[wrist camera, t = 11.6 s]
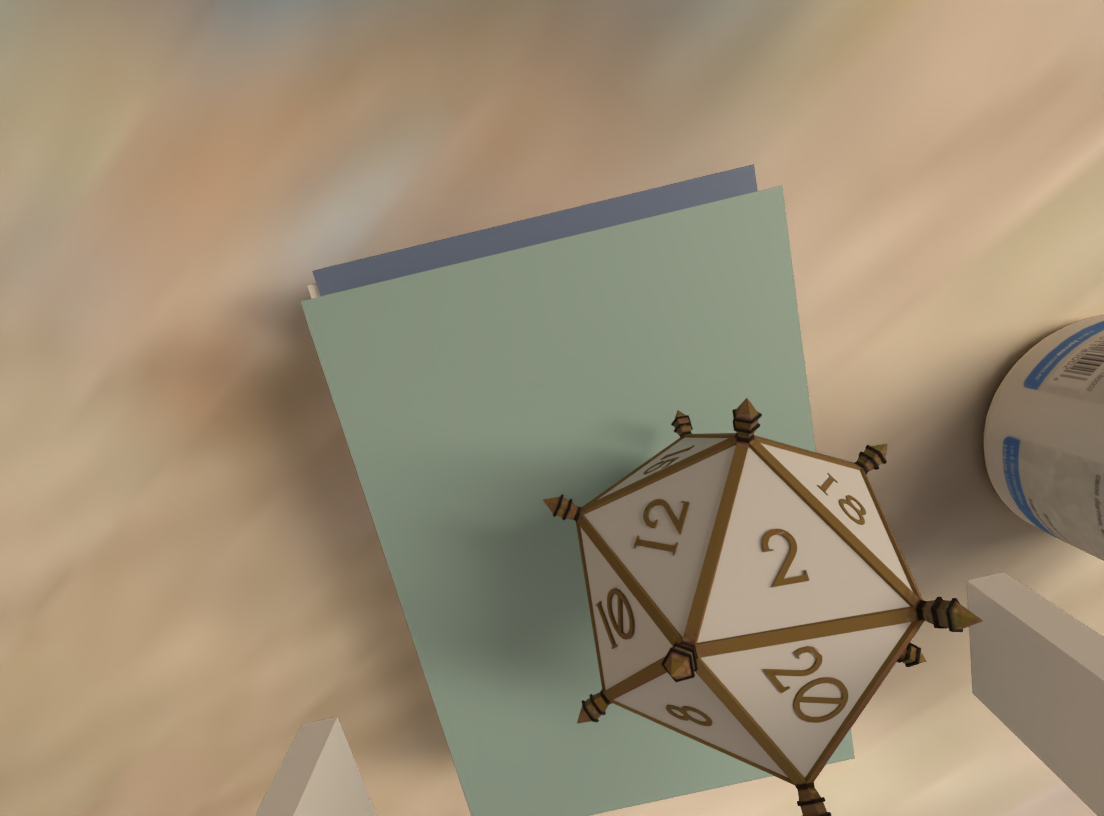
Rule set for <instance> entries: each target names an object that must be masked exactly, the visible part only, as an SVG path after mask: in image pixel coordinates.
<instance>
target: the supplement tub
mask: <svg viewBox="0 0 1104 816" xmlns="http://www.w3.org/2000/svg"><path fill="white" fill-rule="evenodd" d="M984 456H985V464H986V468H987V472H988V475H989V478H990V481H991V483H992V485H993V487H994V489H995V491H996V492H997V494H998V495H999V497H1000V498H1001V500H1002V501H1003V502H1004V503H1005V504H1006V505H1007V506H1008V508H1009V509H1010V510H1012V511H1013V512H1014V513H1015V514H1016V515H1018V516H1019V517H1020V518H1021V519H1023V520H1024V521H1026V522H1027V523H1029V524H1031V525H1032V526H1034V527H1036V528H1038V529H1040V530H1042V531H1044V532H1046V533H1048V534H1050V535H1052V536H1054V537H1056V538H1058V539H1060V540H1063V541H1065V542H1067V543H1069V544H1071V545H1073V546H1075V547H1077V548H1079V549H1081V550H1083V551H1085V552H1087V553H1089V554H1091V555H1093V556H1095V557H1097V558H1099V559H1101V560H1104V315H1100V316H1095V317H1091V318H1087V319H1084V320H1081V321H1078V322H1075V323H1073V324H1070V325H1068V326H1066V327H1063V328H1061V329H1059V330H1058V331H1056V332H1054V333H1052V334H1050V335H1049V336H1047V337H1046V338H1044V339H1043V340H1041V341H1040V342H1038V343H1037V344H1036V345H1035V346H1033V347H1032V348H1031V349H1030V350H1029V351H1028V352H1027V353H1026V354H1024V355H1023V356H1022V357H1021V358H1020V359H1019V360H1018V361H1017V362H1016V364H1015V365H1014V366H1013V367H1012V369H1011V370H1010V371H1009V372H1008V374H1007V375H1006V376H1005V378H1004V380H1003V381H1002V383H1001V384H1000V386H999V388H998V390H997V391H996V393H995V395H994V397H993V400H992V402H991V405H990V408H989V411H988V413H987V417H986V423H985V429H984Z"/></svg>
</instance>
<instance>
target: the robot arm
mask: <svg viewBox="0 0 1104 816" xmlns="http://www.w3.org/2000/svg"><path fill="white" fill-rule="evenodd" d="M967 598H968V610H969V611H970V612H972V613H973V614H974V615H976V616H977V617H979V618H980V619H982V620H983V622H980V623H977V624H974V625H972V626H969V636H970V655H971V674H972V692H973V694H974V695H975V696H976V697H977V698H978V699H979V700H980V701H981V702H982V703H983V704H984V705H985V706H986V707H987V708H988V709H989V710H990V711H991V712H992V713H993V714H994V715H995V716H996V717H997V718H999V719H1000V720H1001V721H1002V722H1003V723H1004V724H1005V725H1006V726H1007V727H1008V728H1009V729H1010V730H1011V731H1012V732H1013V733H1014V734H1015V735H1016V736H1017V737H1018V738H1019V739H1020V740H1021V741H1022V742H1023V743H1024V744H1025V745H1026V746H1027V747H1028V748H1029V749H1030V750H1031V751H1032V752H1033V753H1034V754H1035V755H1036V756H1037V757H1038V758H1039V759H1040V760H1041V761H1042V762H1043V763H1044V764H1045V765H1047V766H1048V767H1049V768H1050V769H1051V770H1052V771H1053V772H1054V773H1055V774H1056V775H1057V776H1058V777H1059V778H1060V779H1061V780H1062V781H1063V782H1064V783H1065V784H1066V785H1067V786H1068V787H1069V788H1070V789H1071V790H1072V791H1073V792H1074V793H1075V794H1076V795H1077V796H1078V797H1079V798H1080V799H1081V800H1082V801H1083V802H1084V803H1085V804H1086V805H1087V806H1088V807H1089V808H1090V809H1091V810H1092V811H1093V812H1094V813H1096V814H1097V815H1098V816H1104V637H1103V636H1102V635H1100V634H1098V633H1097V632H1095V631H1094V630H1092V629H1091V628H1089V627H1088V626H1086V625H1085V624H1083V623H1082V622H1080V621H1079V620H1077V619H1076V618H1074V617H1072V616H1071V615H1069V614H1068V613H1066V612H1065V611H1063V610H1062V609H1060V608H1059V607H1057V606H1056V605H1054V604H1053V603H1051V602H1050V601H1048V600H1046V599H1045V598H1043V597H1042V596H1040V595H1039V594H1037V593H1036V592H1034V591H1033V590H1031V589H1030V588H1028V587H1027V586H1025V585H1024V584H1022V583H1020V582H1019V581H1017V580H1016V579H1014V578H1013V577H1011V576H1010V575H1008V574H1007V573H1005V572H1003V573H999V574H994V575H989V576H985V577H980V578H976V579H971V580H967ZM255 816H376V813H375V811H374V808H373V806H372V803H371V801H370V798H369V795H368V793H367V790H366V788H365V785H364V783H363V780H362V778H361V775H360V773H359V770H358V768H357V765H356V763H355V760H354V757H353V755H352V752H351V750H350V747H349V745H348V742H347V740H346V737H345V735H344V732H343V730H342V727H341V724H340V722H339V719H338V717H333V718H328V719H324V720H319V721H315V722H310V723H305V724H302V725H301V727H300V729H299V731H298V733H297V735H296V737H295V739H294V741H293V743H292V745H291V747H290V749H289V751H288V752H287V754H286V756H285V758H284V760H283V762H282V764H281V766H280V768H279V770H278V772H277V774H276V776H275V778H274V780H273V782H272V784H271V786H270V787H269V789H268V791H267V793H266V795H265V797H264V799H263V801H262V803H261V805H260V807H259V809H258V811H257V813H256V815H255Z"/></svg>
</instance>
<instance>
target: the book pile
mask: <svg viewBox="0 0 1104 816" xmlns="http://www.w3.org/2000/svg"><path fill="white" fill-rule="evenodd" d="M313 274H314V277H315V280H316V284H312V285H308V289H309V292H310V295H311V298H312V299H308V300H304V301H300V302H301V305H302V308H303V311H304V314H305V315H304V316H305V319H306V322H307V325H308V328H309V331H310V334H311V337H312V340H313V343H314V346H315V349H316V352H317V355H318V358H319V361H320V364H321V367H322V370H323V373H324V376H325V379H326V382H327V385H328V388H329V391H330V394H331V397H332V400H333V403H334V406H335V409H336V412H337V415H338V418H339V421H340V424H341V427H342V430H343V433H344V436H345V439H346V442H347V445H348V448H349V451H350V454H351V457H352V460H353V463H354V466H355V469H356V472H357V475H358V478H359V481H360V484H361V487H362V490H363V493H364V496H365V499H366V502H367V505H368V508H369V511H370V514H371V517H372V520H373V523H374V526H375V529H376V532H377V535H378V538H379V541H380V544H381V547H382V550H383V553H384V556H385V559H386V561H387V564H388V567H389V570H390V573H391V576H392V579H393V582H394V585H395V588H396V591H397V594H398V597H399V600H400V603H401V606H402V609H403V612H404V615H405V618H406V621H407V624H408V627H409V630H410V633H411V636H412V639H413V642H414V645H415V648H416V651H417V654H418V657H419V660H420V663H421V666H422V669H423V672H424V675H425V678H426V681H427V684H428V687H429V690H430V693H431V696H432V699H433V702H434V705H435V708H436V711H437V714H438V717H439V720H440V723H441V726H442V729H443V732H444V735H445V738H446V741H447V744H448V747H449V750H450V753H451V756H452V759H453V762H454V765H455V768H456V771H457V774H458V777H459V780H460V783H461V786H462V789H463V792H464V795H465V798H466V801H467V804H468V807H469V810H470V813H471V816H589V815H594V814H598V813H603V812H608V811H612V810H617V809H621V808H626V807H631V806H635V805H640V804H645V803H649V802H654V801H659V800H663V799H668V798H673V797H677V796H682V795H687V794H691V793H696V792H700V791H705V790H710V789H714V788H719V787H724V786H728V785H733V784H738V783H742V782H747V781H752V780H756V779H761V778H765V777H770V776H773V775H771V774H769V773H767V772H765V771H762V770H760V769H758V768H756V767H753V766H751V765H749V764H747V763H745V762H742V761H740V760H738V759H736V758H733V757H731V756H729V755H727V754H724V753H722V752H720V751H718V750H716V749H713V748H711V747H709V746H707V745H704V744H702V743H700V742H698V741H696V740H693V739H691V738H689V737H687V736H684V735H682V734H680V733H678V732H676V731H673V730H671V729H669V728H667V727H664V726H662V725H660V724H658V723H656V722H653V721H651V720H649V719H647V718H644V717H642V716H640V715H638V714H635V713H633V712H631V711H629V710H627V709H624V708H622V707H620V706H618V705H615V704H613V703H612V704H609V705H608V707H607V709H606V711H605V712H606V714H605V715H601V716H600V717H599V718H598V720H599V721H598V722H593V721H591V722H584V723H578V724H577V721H578V718H579V714H580V711H581V708H582V700H584V701H586V700H587V699H588V698H590V696H589V695H590V694H592V695H595V694H597V693H599V692H600V691H601V690H602V685H601V679H600V672H599V666H598V660H597V653H596V647H595V641H594V635H593V628H592V622H591V616H590V609H589V603H588V597H587V590H586V584H585V578H584V571H583V565H582V559H581V553H580V546H579V540H578V534H577V527H576V521H575V520H572V519H565V520H562V517H559V516H556V517H553V513H552V512H551V510H550V509H549V508H548V506H547V505H546V504H545V503H544V501H543V499H548V498H554V497H559V496H561V494H563V495H564V496H563V497H564V498H566V499H568V500H570V498H571V499H573V500H572V502H573V503H574V504H575V505H576V506H578V507H583V506H584V505H585V504H587V503H588V502H590V501H591V500H593V499H594V498H595V497H597V496H598V495H600V494H601V493H602V492H604V491H605V490H607V489H608V488H609V487H611V486H612V485H614V484H615V483H617V482H618V481H619V480H621V479H622V478H624V477H625V476H626V475H628V474H629V473H631V472H632V471H634V470H635V469H636V468H638V467H639V466H641V465H642V464H643V463H645V462H646V461H648V460H649V459H651V458H652V457H653V456H655V455H656V454H658V453H659V452H660V451H662V450H663V449H665V448H666V447H667V446H669V445H670V444H672V443H673V442H675V441H676V440H677V439H679V438H680V436H679V435H678V433H675V432H674V430H675V428H674V426H672V425H671V423H672V422H673V421H674V419H675V416H676V413H677V410H679V411H680V412H682V413H683V414H685V415H689V418H690V421H691V425H692V428H693V430H691V433H692V434H708V433H737V432H736V431H734V428H733V420H734V419H733V411H732V410H733V409H737V408H738V407H739V406H740V404H741V403H742V402H743V401H744V400H745V399H746V398H748V399H749V401H750V402H751V404H752V405H753V406H754V408H755V409H756V411H757V412H759V413H761V414H762V417H760V418H759V419H758V423H759V424H760V427H759V428H758V429H757V430H756V431H755V433H754V435H756V436H759V437H763V438H766V439H770V440H773V441H777V442H781V443H784V444H788V445H791V446H795V447H798V448H802V449H805V450H809V451H813V452H816V449H815V441H814V433H813V425H812V418H811V410H810V402H809V394H808V386H807V378H806V370H805V362H804V354H803V346H802V339H801V331H800V323H799V315H798V307H797V299H796V291H795V283H794V275H793V267H792V259H791V252H790V244H789V236H788V228H787V220H786V212H785V204H784V196H783V188H782V186H778V187H774V188H769V189H765V190H761V191H757V184H756V177H755V169H754V164H753V165H749V166H745V167H741V168H737V169H732V170H728V171H724V172H720V173H716V174H712V175H708V176H703V177H699V178H695V179H691V180H687V181H683V182H679V183H674V184H670V185H666V186H662V187H658V188H654V189H650V190H646V191H641V192H637V193H633V194H629V195H625V196H621V197H617V198H612V199H608V200H604V201H600V202H596V203H592V204H588V205H583V206H579V207H575V208H571V209H567V210H563V211H559V212H554V213H550V214H546V215H542V216H538V217H534V218H530V219H525V220H521V221H517V222H513V223H509V224H505V225H501V226H497V227H492V228H488V229H484V230H480V231H476V232H472V233H468V234H463V235H459V236H455V237H451V238H447V239H443V240H439V241H434V242H430V243H426V244H422V245H418V246H414V247H410V248H405V249H401V250H397V251H393V252H389V253H385V254H381V255H377V256H372V257H368V258H364V259H360V260H356V261H352V262H348V263H343V264H339V265H335V266H331V267H327V268H323V269H319V270H314V271H313ZM849 759H854V750H853V742H852V734H851V728H850V730H849V731H848V733H847V734H846V736H845V737H844V738H843V740H842V741H841V743H840V744H839V746H838V747H837V749H836V750H835V752H834V753H833V754H832V756H831V757H830V759H829V760H828V762H827V763H826V764H830V763H835V762H840V761H844V760H849Z"/></svg>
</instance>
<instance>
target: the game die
mask: <svg viewBox="0 0 1104 816" xmlns="http://www.w3.org/2000/svg"><path fill="white" fill-rule="evenodd" d="M732 411H733V419H734V420H733V428H734V431H736V432H737V433H708V434H692V433H691V430H693V428H692V425H691V421H690V418H689V415H685V414H683V413H682V412H680V411H679V410H677V413H676V416H675V419H674V421H673V422H672V423H671V425H672V426H674V428H675V430H674V432H675V433H678V435H679V436H680V438H679V439H677V440H676V441H675V442H673V443H672V444H670V445H669V446H667V447H666V448H665V449H663V450H662V451H660V452H659V453H658V454H656V455H655V456H653V457H652V458H651V459H649V460H648V461H646V462H645V463H643V464H642V465H641V466H639V467H638V468H636V469H635V470H634V471H632V472H631V473H629V474H628V475H626V476H625V477H624V478H622V479H621V480H619V481H618V482H617V483H615V484H614V485H612V486H611V487H609V488H608V489H607V490H605V491H604V492H602V493H601V494H600V495H598V496H597V497H595V498H594V499H593V500H591V501H590V502H588V503H587V504H585V505H584V506H583V507H578V506H576V505H575V504H574V503H573V502H572V500H573V499H571V498H570V500H568V499H566V498H564V497H563V496H564V495H563V494H561V496H559V497H554V498H548V499H543V501H544V503H545V504H546V505H547V506H548V508H549V509H550V510H551V512H552V513H553V517H556V516H559V517H562V520H565V519H572V520H575V521H576V527H577V534H578V540H579V546H580V553H581V559H582V565H583V571H584V578H585V584H586V590H587V597H588V603H589V609H590V616H591V622H592V628H593V635H594V641H595V647H596V653H597V660H598V666H599V672H600V679H601V685H602V690H601V691H600V692H599V693H597V694H595V695H592V694H590V695H589V696H590V698H588V699H587V700H586V701H584V700H582V708H581V711H580V714H579V718H578V721H577V724H578V723H584V722H591V721H593V722H598V721H599V720H598V718H599V717H600V716H601V715H605V714H606V712H605V711H606V709H607V707H608V705H609V704H612V703H613V704H615V705H618V706H620V707H622V708H624V709H627V710H629V711H631V712H633V713H635V714H638V715H640V716H642V717H644V718H647V719H649V720H651V721H653V722H656V723H658V724H660V725H662V726H664V727H667V728H669V729H671V730H673V731H676V732H678V733H680V734H682V735H684V736H687V737H689V738H691V739H693V740H696V741H698V742H700V743H702V744H704V745H707V746H709V747H711V748H713V749H716V750H718V751H720V752H722V753H724V754H727V755H729V756H731V757H733V758H736V759H738V760H740V761H742V762H745V763H747V764H749V765H751V766H753V767H756V768H758V769H760V770H762V771H765V772H767V773H769V774H771V775H773V776H776V777H778V778H780V779H782V780H785V781H787V782H789V783H791V784H793V785H795V786H796V788H797V789H798V794H799V801H797V804H798V806H801V810H802V813H803V816H831V813H830V812H827V811H826V808H825V806H824V803H823V801H825V799H824V797H823V798H821V797H820V795H819V794H818V792H817V790H816V789H815V787H814V781H815V779H816V778H817V776H818V775H819V773H820V772H821V770H822V769H823V768H824V766H825V765H826V763H827V762H828V760H829V759H830V757H831V756H832V754H833V753H834V752H835V750H836V749H837V747H838V746H839V744H840V743H841V741H842V740H843V738H844V737H845V736H846V734H847V733H848V731H849V730H850V728H851V727H852V725H853V724H854V723H855V721H856V720H857V718H858V717H859V715H860V714H861V712H862V711H863V709H864V708H865V707H866V705H867V704H868V702H869V701H870V699H871V698H872V696H873V695H874V693H875V692H876V691H877V689H878V688H879V686H880V685H881V683H882V682H883V680H884V679H885V677H886V676H887V675H888V673H889V672H890V670H891V669H892V667H893V666H894V664H895V663H896V661H897V662H898V663H900V662H903V663H905V665H906V667H910V666H913V665H917V664H919V663H921V662H926V659H925V658H924V656H923V655H922V653H921V648H919V647H917V646H916V645H914V644H912V643H910V641H911V640H912V638H913V637H914V635H915V634H916V632H917V631H918V629H919V628H920V627H921V625H922V624H923V622H924V621H927V622H929V623H932V624H934V628H949V630H950V631H951V632H963V628H966V627H969V626H972V625H974V624H977V623H980V622H983V620H982V619H980V618H979V617H977V616H976V615H974V614H973V613H972V612H970V611H969V610H967V609H966V608H965V607H963V606H962V605H960V603H959V602H958V600H957V598H953V599H952V600H951V601H946V600H943V599H942V598H941V597H937V599H936V600H934V601H927V602H926V601H923V599H922V597H921V594H920V592H919V590H918V588H917V586H916V583H915V581H914V579H913V577H912V575H911V572H910V570H909V568H908V566H907V564H906V561H905V559H904V557H903V555H902V553H901V550H900V548H899V546H898V544H897V542H896V539H895V537H894V535H893V533H892V531H891V528H890V526H889V524H888V522H887V520H886V517H885V515H884V513H883V511H882V509H881V506H880V504H879V502H878V500H877V498H876V495H875V493H874V491H873V489H872V487H871V484H870V482H869V480H868V478H867V476H866V474H867V473H868V471H871V470H873V469H876V470H878V469H879V467H878V466H879V465H880V464H882V463H884V464H885V463H887V461H886V460H885V456H886V449H887V444H884V445H877V446H869V445H867V446H866V449H865V451H864V452H860V453H859V458H858V461H857V462H855V463H852V462H848V461H845V460H841V459H837V458H834V457H830V456H827V455H823V454H820V453H816V452H813V451H809V450H805V449H802V448H798V447H795V446H791V445H788V444H784V443H781V442H777V441H773V440H770V439H766V438H763V437H759V436H756V435H754V433H755V431H756V430H757V429H758V428H759V427H760V424H759V423H758V419H759V418H760V417H762V414H761V413H759V412H757V411H756V409H755V408H754V406H753V405H752V404H751V402H750V401H749V399H748V398H746V399H745V400H744V401H743V402H742V403H741V404H740V406H739V407H738V408H737V409H733V410H732Z"/></svg>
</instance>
